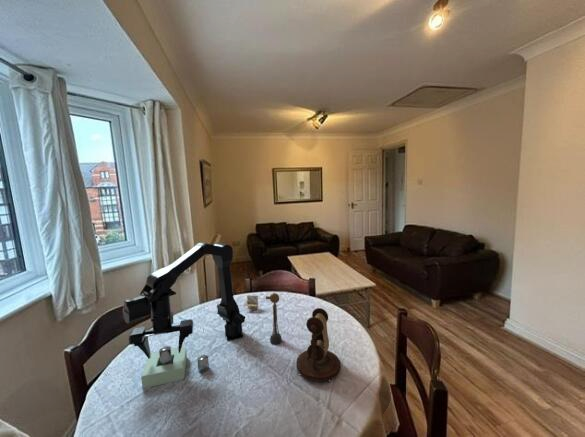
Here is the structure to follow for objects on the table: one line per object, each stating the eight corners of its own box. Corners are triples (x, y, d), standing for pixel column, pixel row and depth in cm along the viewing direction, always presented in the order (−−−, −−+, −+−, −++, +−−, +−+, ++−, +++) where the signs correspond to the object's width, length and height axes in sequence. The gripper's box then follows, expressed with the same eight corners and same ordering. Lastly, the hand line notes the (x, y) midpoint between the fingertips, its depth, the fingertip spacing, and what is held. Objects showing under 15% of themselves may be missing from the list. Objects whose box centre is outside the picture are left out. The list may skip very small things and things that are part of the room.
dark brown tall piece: (335, 390, 79) (335, 327, 77) (290, 379, 84) (288, 319, 82) (343, 360, 93) (343, 305, 91) (304, 352, 98) (303, 300, 96)
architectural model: (256, 312, 131) (256, 298, 130) (243, 312, 132) (242, 298, 131) (258, 309, 135) (258, 295, 134) (245, 309, 135) (244, 295, 135)
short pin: (208, 364, 92) (208, 354, 92) (208, 371, 89) (208, 360, 88) (198, 367, 91) (197, 356, 91) (197, 373, 88) (197, 362, 87)
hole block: (186, 357, 97) (186, 346, 96) (183, 379, 85) (183, 367, 85) (150, 364, 93) (149, 353, 93) (142, 388, 82) (141, 376, 81)
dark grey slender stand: (265, 343, 104) (264, 294, 102) (269, 337, 108) (267, 290, 106) (280, 345, 103) (278, 296, 100) (283, 338, 107) (281, 291, 105)
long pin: (173, 367, 91) (171, 345, 91) (171, 373, 88) (169, 351, 87) (161, 369, 90) (160, 347, 89) (160, 376, 87) (158, 353, 86)
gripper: (192, 297, 97) (195, 337, 99) (135, 305, 92) (139, 347, 93) (190, 310, 87) (193, 354, 88) (126, 320, 81) (130, 367, 83)
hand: (164, 355), depth 88 cm, fingers open, 9 cm apart
